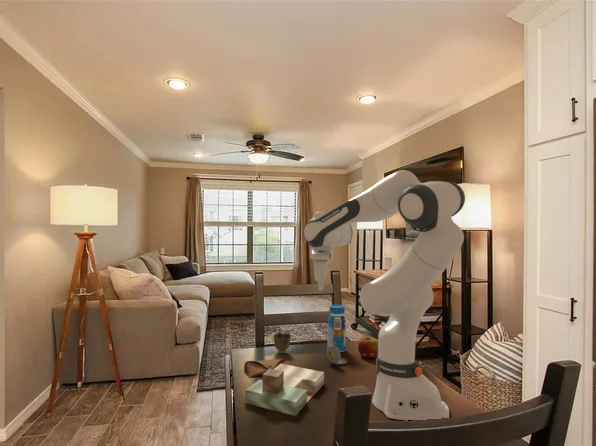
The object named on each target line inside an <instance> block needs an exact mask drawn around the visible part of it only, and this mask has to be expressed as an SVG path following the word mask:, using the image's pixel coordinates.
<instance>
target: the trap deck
mask: <svg viewBox="0 0 596 446" xmlns="http://www.w3.org/2000/svg"><path fill="white" fill-rule="evenodd" d="M275 370H281V371H284V385H283V388H282V389H281V390H280V391H279V393H278V394H276V393H270V392H265V391H262V386H263V379H258V380H257V381H256V382H253V384H252V385H249V387H247V388H246V389H245V400H244V401H245V402H244V403H245V404H249V405H252V406H255V407H259V408H264V409H267V410H271V411H274V412H278V411H279V412H278V413H281V412H282V414H285V413H286V415H289V414H290V415H289V416H293V415H294V416H293V417H296V416H297V415H298V414H299V413H300V412H299V411H301V410H302V409H304V407H305V406H306V405H307V404H308V402H309V401H310V400H311V399H312V398H313V397H314V396H315V395H316V394H317V392H318V391H319V390H320V389H321V388H322V386H323V385H324V384H325V372H324V371H320V370H315V369H311V368H310V369H309V368H304V367H300V366H294V365H291V364H290V365H285V364H280V365H279V366H277V367H276V368H275Z"/></svg>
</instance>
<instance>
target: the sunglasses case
mask: <svg viewBox="0 0 596 446" xmlns="http://www.w3.org/2000/svg"><path fill="white" fill-rule="evenodd" d="M280 364H285V365H290V366H291V363H290V359H289V358H288V357H287V358H286V357H285V358H279V359H263V360H247V361H245V363H244V366H243V369H244V370H243V371H244V372H245V374H246V376H247V378H248V379H253V378H258V377H259V378H260V377H263V374H264V373H265V372H266V371H267V370H268V369H275V368H276V367H277V366H279V365H280Z"/></svg>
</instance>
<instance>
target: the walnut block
mask: <svg viewBox="0 0 596 446" xmlns="http://www.w3.org/2000/svg"><path fill="white" fill-rule="evenodd" d="M262 380H263V386H262V391H265V392H270V393H276V394H278V393H279V391H280V390H281V389H282V388H283V385H284V371H281V370H275V369H268V370H267V371H266V372H265V373H264V374H263V376H262Z"/></svg>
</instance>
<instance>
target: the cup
mask: <svg viewBox="0 0 596 446" xmlns="http://www.w3.org/2000/svg"><path fill="white" fill-rule="evenodd" d="M291 336H292V335H291V334H290V333H289V332H288V333H287V332H285V333H284V334H283V332H278V333H275V334H273V340H274V341H273V343H274V347H275V349H276V350H277V353H278V354H279V355H284V354H285V355H286V353H287V350H288V349H289V347H290V344H291V343H290V342H291Z"/></svg>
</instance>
